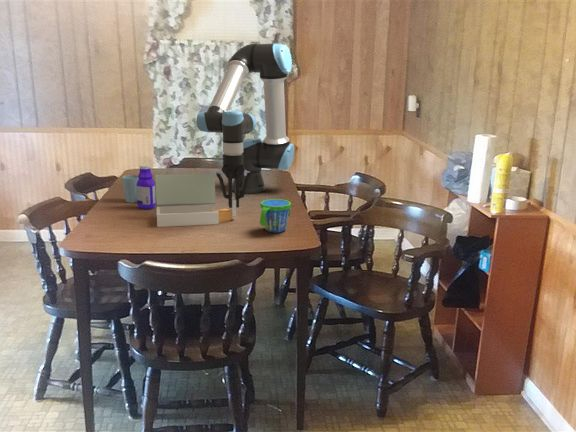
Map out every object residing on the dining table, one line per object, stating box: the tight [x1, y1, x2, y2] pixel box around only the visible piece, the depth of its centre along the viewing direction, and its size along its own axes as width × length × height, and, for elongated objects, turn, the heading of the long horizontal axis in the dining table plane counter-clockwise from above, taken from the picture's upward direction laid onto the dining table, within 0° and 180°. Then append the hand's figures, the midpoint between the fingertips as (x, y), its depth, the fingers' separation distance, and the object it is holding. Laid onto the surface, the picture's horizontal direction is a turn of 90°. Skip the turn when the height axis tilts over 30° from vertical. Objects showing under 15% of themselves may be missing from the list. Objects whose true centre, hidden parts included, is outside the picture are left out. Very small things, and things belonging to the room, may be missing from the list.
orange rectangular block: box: [210, 208, 233, 223], centre depth 219 cm, size 7×4×4 cm, turn 124°
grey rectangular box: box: [156, 204, 220, 228], centre depth 217 cm, size 22×12×4 cm, turn 102°
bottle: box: [136, 163, 157, 210], centre depth 233 cm, size 7×6×17 cm
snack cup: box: [259, 198, 292, 234], centre depth 206 cm, size 16×10×10 cm
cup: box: [121, 174, 139, 203], centre depth 244 cm, size 8×8×10 cm
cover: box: [154, 172, 217, 207], centre depth 221 cm, size 22×12×1 cm
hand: (233, 215), depth 220 cm, fingers closed
